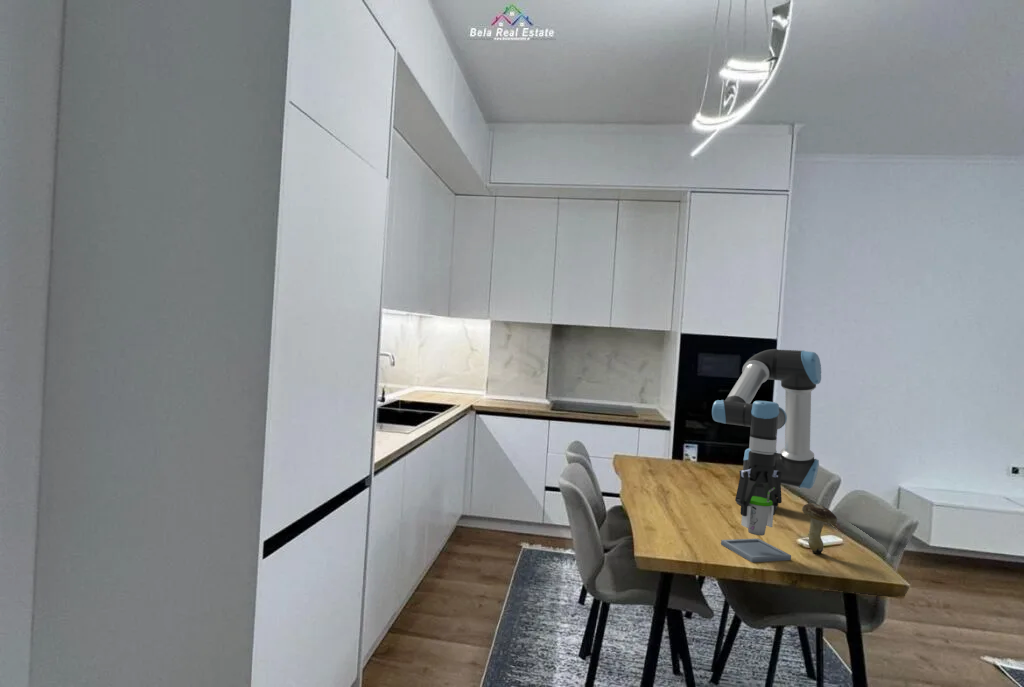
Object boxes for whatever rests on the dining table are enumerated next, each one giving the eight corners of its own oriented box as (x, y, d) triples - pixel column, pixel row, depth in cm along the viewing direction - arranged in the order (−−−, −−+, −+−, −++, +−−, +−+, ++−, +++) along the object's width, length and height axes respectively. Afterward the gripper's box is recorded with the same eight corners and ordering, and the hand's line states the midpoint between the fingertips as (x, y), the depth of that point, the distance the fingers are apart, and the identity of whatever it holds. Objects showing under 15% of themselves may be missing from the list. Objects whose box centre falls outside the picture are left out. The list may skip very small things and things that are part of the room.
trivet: (758, 542, 181) (758, 538, 181) (790, 560, 167) (791, 555, 167) (720, 544, 177) (721, 539, 177) (751, 562, 163) (751, 557, 163)
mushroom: (793, 546, 179) (796, 500, 179) (818, 547, 180) (822, 501, 180) (811, 558, 170) (815, 509, 170) (838, 559, 170) (842, 510, 170)
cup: (736, 529, 174) (740, 481, 174) (755, 527, 177) (759, 480, 177) (756, 538, 167) (760, 488, 167) (776, 536, 170) (779, 487, 170)
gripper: (780, 449, 178) (775, 521, 178) (725, 448, 172) (720, 522, 173) (798, 454, 171) (793, 529, 171) (742, 454, 165) (736, 531, 165)
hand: (756, 525), depth 172 cm, fingers closed on cup, 8 cm apart
